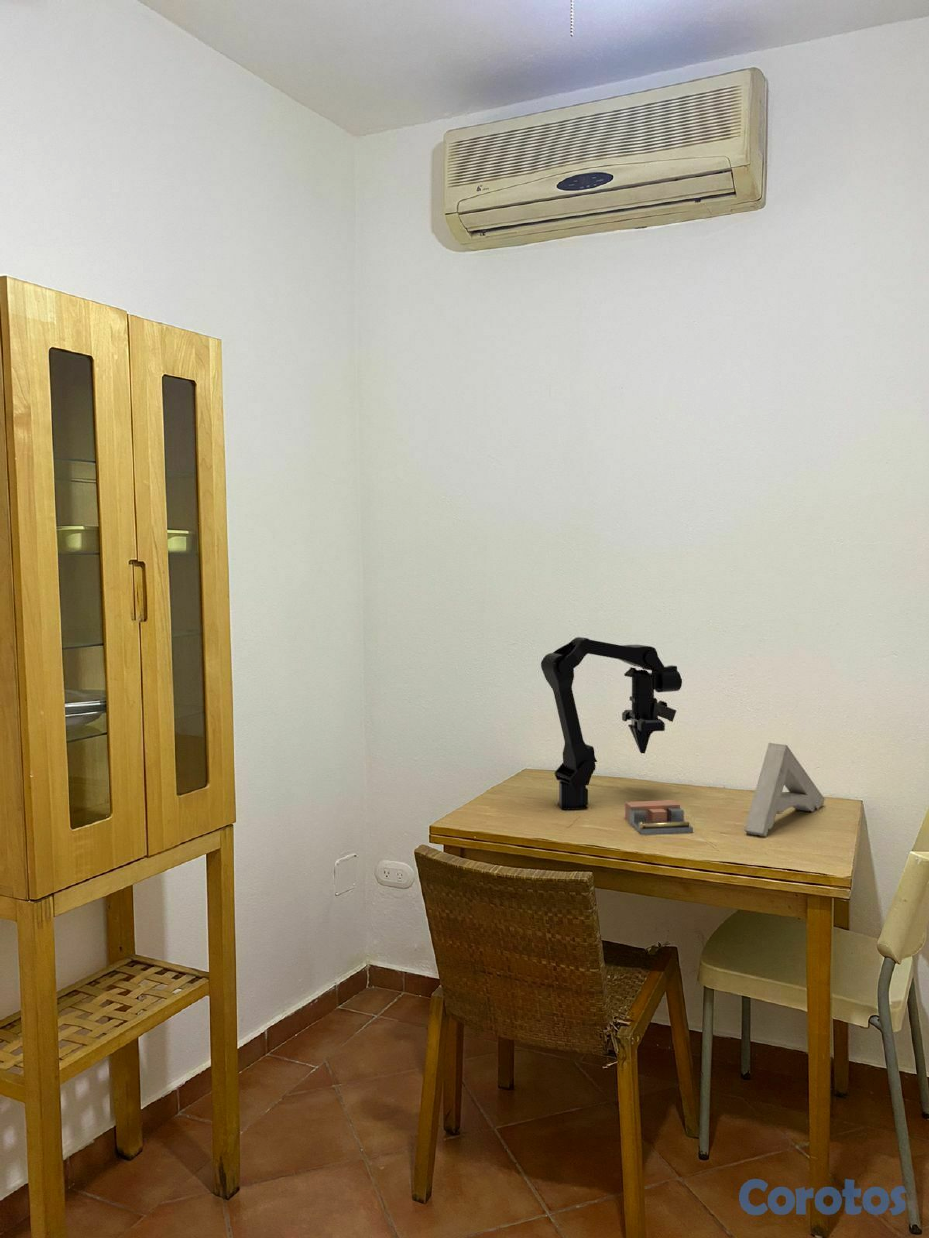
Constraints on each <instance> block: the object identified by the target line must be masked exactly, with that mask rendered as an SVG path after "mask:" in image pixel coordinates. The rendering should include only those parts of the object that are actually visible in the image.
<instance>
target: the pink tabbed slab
mask: <svg viewBox="0 0 929 1238" xmlns="http://www.w3.org/2000/svg"><path fill="white" fill-rule="evenodd" d="M624 806H625V807H624V812H625V813H624V814H625V815H624V817H625V820H627V821H628V822H629V823H630V809H639V808H642V809H643V810H645V811H646V812H647V822H659V821H667V807H680V808H681V804H680V803H679V802H677V801H675V800H673V799H667V800H666V799H665V800H645V801H625V804H624Z"/></svg>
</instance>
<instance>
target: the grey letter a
mask: <svg viewBox="0 0 929 1238" xmlns="http://www.w3.org/2000/svg"><path fill="white" fill-rule="evenodd" d="M764 755H765V756H764V758H763V763H762V765H761V770H760V772H759V776H758V781H757V784H756V787H755V791H754V794H753V798H752V800H751V801H752V802H751V805H750V808H749V809H750V810H749V811H748V816H747V820H746V824H745V827H744V832H745V833H746V834H747V835H753V836H757V835H759V836H758V837H763V836H764V837H763V838H766V837H767V835H768V831H769V830H771V829H772V828H773V826H774V824H775V821H776V816H777V815H781V814H782V813H784V812H785V811H787V810H788V809H790V808H793V809H794V810H796V809H797V810H798V811H803V812H809V811H811V812H810V813H814V812H815V810H817V809H818V810H819V809H820V808H821V806H824V804H825V801H826V800H825V797H824V796H823V795H822V793H821V791H820V790H819V789H818V787H817V786H816V784H815V783H814V782H813V780H812V779H811V777H810V776H809V774H808V773H807V772H806V770H805V769H804V767H803V766H802V764H801V763H800V761H799V760H798V759H797V758H796V756H795V754H794V753H793V752H792V750H791V749H790V747H789V746H788V745H787V744H782V743H781V744H780V743H773V742H772V743H771V742H768V744H767V748H766V751H765V754H764ZM784 786H785V788H786V789H787V791H785V792H783V790H784ZM813 811H814V812H813Z"/></svg>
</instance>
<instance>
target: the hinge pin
mask: <svg viewBox="0 0 929 1238" xmlns="http://www.w3.org/2000/svg"><path fill="white" fill-rule="evenodd" d="M689 825H690V821H685V822H668V823H642V822H639V829H643V828H654V827H681V826H689Z"/></svg>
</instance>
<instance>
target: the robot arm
mask: <svg viewBox="0 0 929 1238" xmlns="http://www.w3.org/2000/svg"><path fill="white" fill-rule="evenodd" d="M588 654H589V655H593V656H594V655H595V656H600V657H606V658H611V659H616V660H619V661H622V662H624V663H626V664H628V665H630V666H631V667H630V668H629V669H628V670H627V671H626V672H625V673H624V677H627V678H631V695H630V696H629V701H630V702H631V709H625V710H624V711H623V712H621V720H622V721H623V722H628V721H630V722H631V723H630V724H628V725H627V726H628V728H629V729H630V732H631V734H632V736H633V738H634V741H635V743H636V745H637V748H638V750H639V752H640V754H646V751H647V748H648V744H649V741H650V738H651V735H652V734H653V733H654V732H664V731H666V723H665V721H663V720H662V719H665V720H668V721H669V722H674V719H675V717H676V713H677V710H676V709H673V708H672V707H669V706H668V702H666V701H664V700H659V701H658V699H657V698H656V697H655V692H656V693H666V692H667V693H668V692H670V693H671V692H678V691H680V690H681V688H682V685H683V679H682V676H681V673H680V672H679V671H678V666H677V665H667V666H665V665H664V663H663V662H662V660H661V659H660V658H659V654H658V651H657V649H656V648H655V647H653V646H649V645H642V644H626V645H625V644H622V645H621V644H615V643H609V642H606V641H605V642H604V641H598V640H595V639H594V640H593V639H589V638H588V637H581V636H578V637H574V638H573V639H572V640H571V641H570V642H568V643H567V644H564V645H563V646H560V647H559V648H557V649H555V650H554V651H553V652H550V653H548V654H546V655H544V657H543V659H542V660H541V663H540V668H541V671H542V673H543V675H544V678H545V680H546V682H547V683H548V685H549V687H551V689H552V692H553V696H554V700H555V704H556V705H555V706H556V709H557V714H558V719H559V723H560V727H561V732H562V736H563V740H564V746H563V749H562V763H561V764H560V765H559V766H558V768H557V769H555V771H554V776H555V778H556V779H555V780H556V781H558V783H559V784H558V801H557V805H558V804H559V805H558V807H560V809H561V808H562V809H561V810H564V811H566V810H568V811H569V810H588V804H589V788H587V786H589V785H590V781H591V777H592V775H593V774H594V773H595V771H596V768H597V767H596V763H597V762H598V760H597V758H596V756H595V748H594V746H593V745H589V744H586V742H585V740H584V737H583V732H582V728H581V723H580V718H579V714H578V710H577V706H576V701H575V696H574V691H573V684H574V680H575V679H574V678H575V668H576V667H577V666H579V665H580V664H581V663H582V661H583V659H584V658H585V657H586V656H587V655H588ZM632 666H633V667H632ZM636 667H637V668H641V669H636ZM649 671H651V672H649ZM659 717H660V718H661V719H660V718H659Z"/></svg>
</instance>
